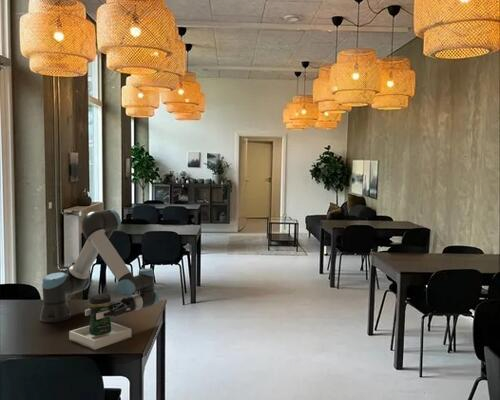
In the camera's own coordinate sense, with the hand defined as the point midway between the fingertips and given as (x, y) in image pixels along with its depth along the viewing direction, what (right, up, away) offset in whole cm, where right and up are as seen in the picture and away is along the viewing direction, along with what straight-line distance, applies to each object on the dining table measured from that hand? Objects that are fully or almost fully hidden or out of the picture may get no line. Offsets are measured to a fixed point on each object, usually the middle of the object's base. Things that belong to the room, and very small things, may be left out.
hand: (91, 314), depth 215 cm
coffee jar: (+3, -10, +4) cm, 11 cm away
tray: (+3, -12, +5) cm, 13 cm away
